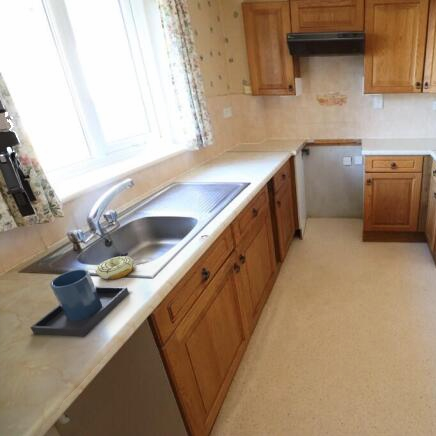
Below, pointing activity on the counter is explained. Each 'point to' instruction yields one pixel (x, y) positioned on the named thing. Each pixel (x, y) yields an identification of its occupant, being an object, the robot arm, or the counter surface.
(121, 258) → the decorated donut
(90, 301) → the tea cup
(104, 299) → the serving tray
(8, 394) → the counter surface
